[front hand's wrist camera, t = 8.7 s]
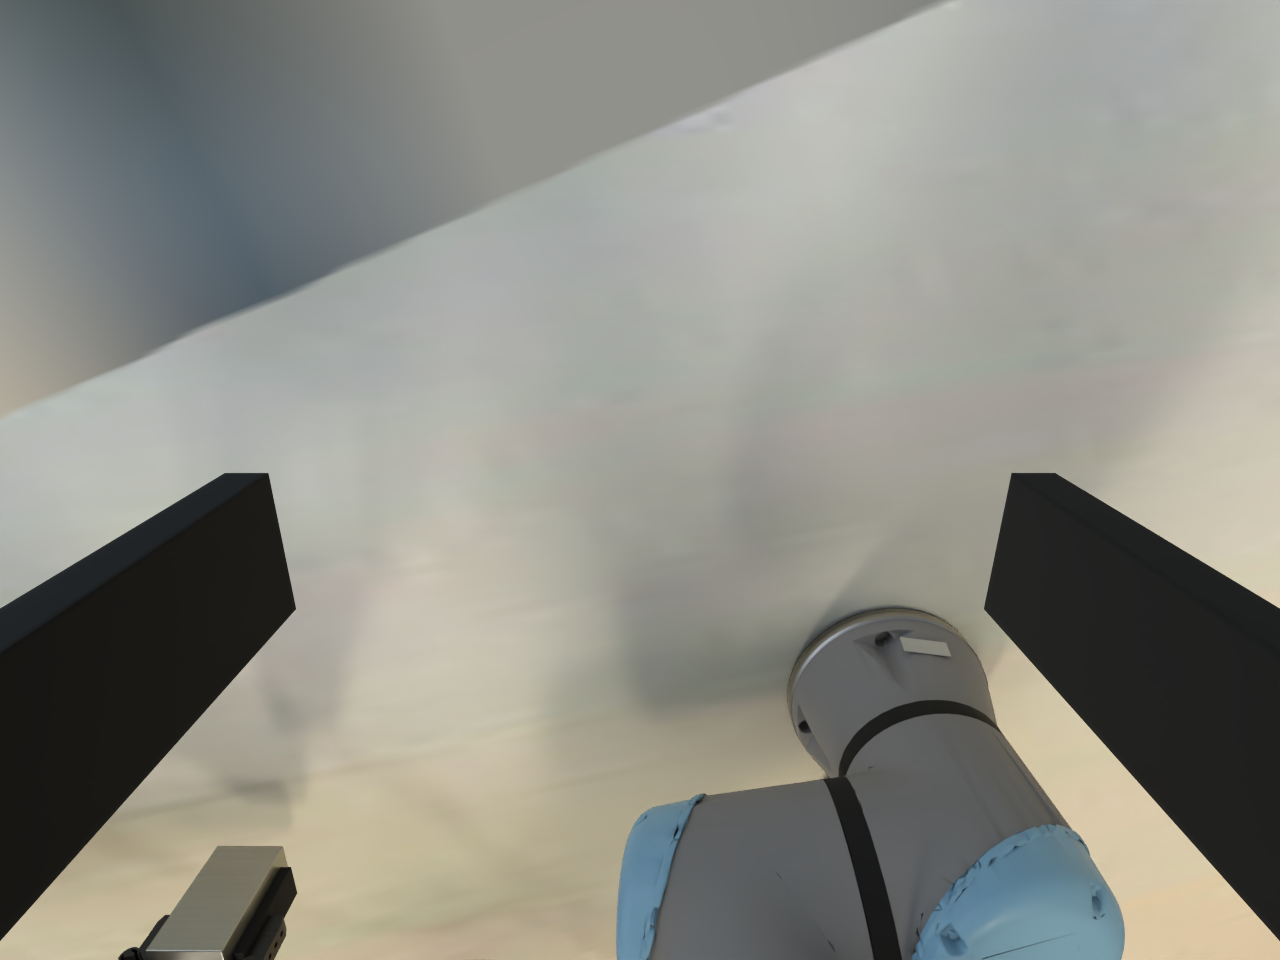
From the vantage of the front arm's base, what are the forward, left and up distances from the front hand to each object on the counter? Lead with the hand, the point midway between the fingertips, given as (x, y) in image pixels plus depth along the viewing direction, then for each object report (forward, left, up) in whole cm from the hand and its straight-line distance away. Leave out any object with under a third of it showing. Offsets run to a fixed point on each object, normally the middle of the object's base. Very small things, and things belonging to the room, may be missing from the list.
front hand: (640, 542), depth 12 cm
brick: (-51, +3, -28) cm, 58 cm away
